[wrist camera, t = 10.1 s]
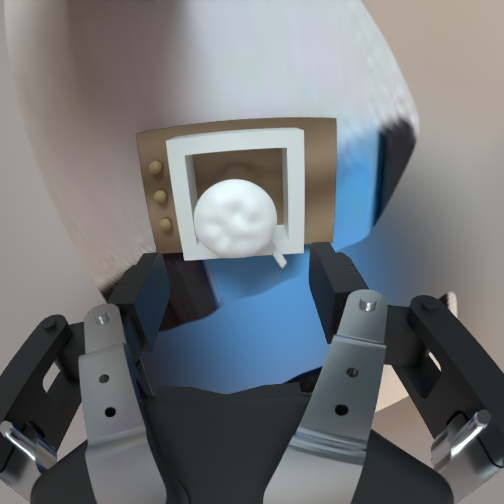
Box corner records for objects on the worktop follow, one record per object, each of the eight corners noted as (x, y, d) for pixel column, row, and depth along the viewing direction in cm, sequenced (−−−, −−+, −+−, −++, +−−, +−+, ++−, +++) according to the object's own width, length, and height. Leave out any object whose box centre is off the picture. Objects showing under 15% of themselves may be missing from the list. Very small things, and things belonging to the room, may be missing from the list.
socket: (175, 136, 21) (165, 140, 18) (296, 127, 21) (303, 130, 18) (190, 243, 25) (184, 260, 22) (297, 236, 25) (303, 252, 22)
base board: (140, 132, 21) (132, 134, 20) (332, 117, 21) (339, 118, 19) (160, 248, 27) (155, 258, 25) (329, 236, 26) (335, 246, 25)
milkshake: (253, 224, 24) (258, 296, 16) (199, 191, 23) (171, 247, 14) (285, 182, 23) (312, 233, 14) (230, 145, 21) (219, 171, 12)
